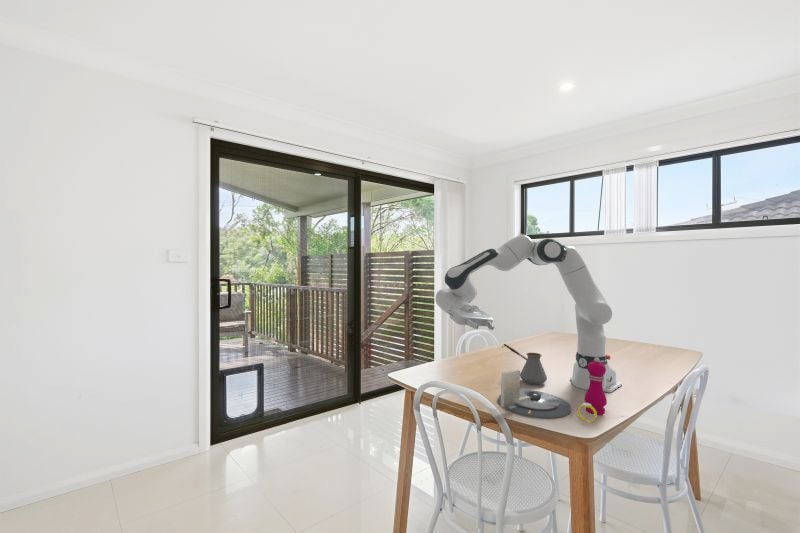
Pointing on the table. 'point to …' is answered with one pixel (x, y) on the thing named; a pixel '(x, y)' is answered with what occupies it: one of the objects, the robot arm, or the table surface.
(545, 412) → the dial base
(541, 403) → the dial
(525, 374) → the coffee pot
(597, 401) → the pepper mill
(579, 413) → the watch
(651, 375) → the table surface
